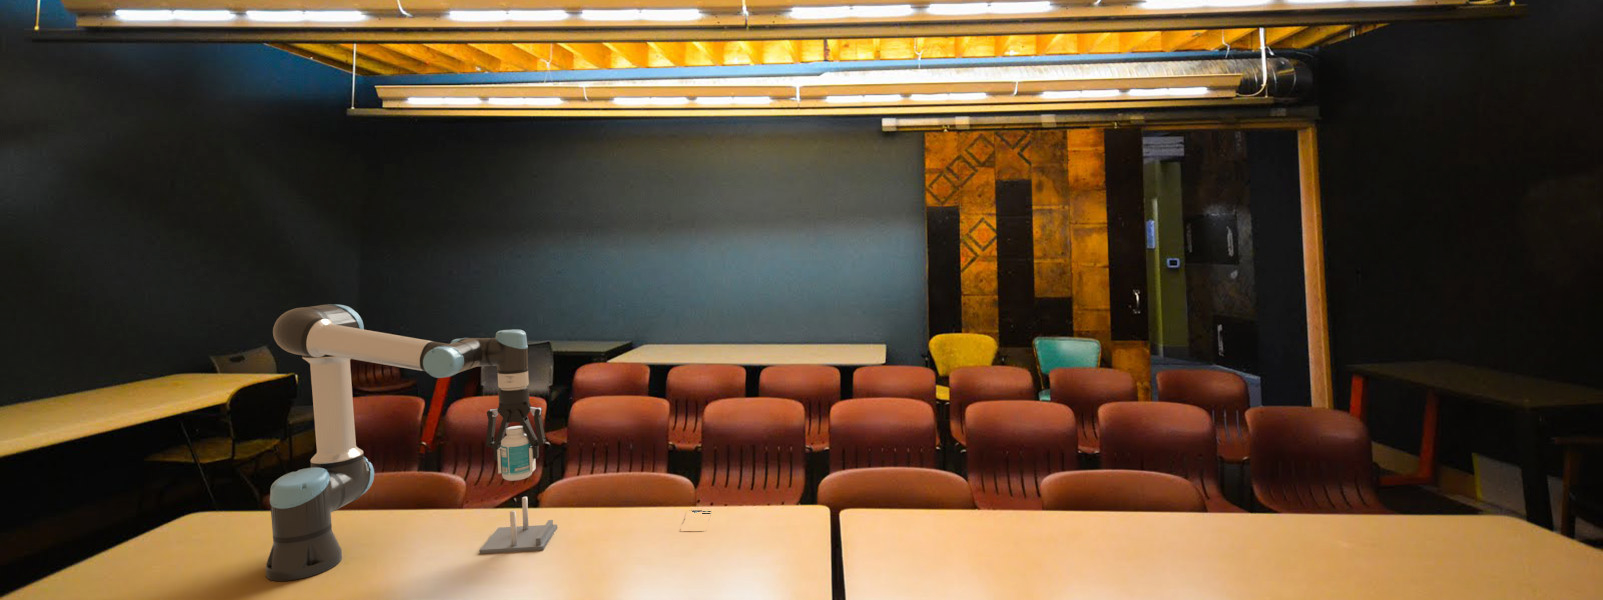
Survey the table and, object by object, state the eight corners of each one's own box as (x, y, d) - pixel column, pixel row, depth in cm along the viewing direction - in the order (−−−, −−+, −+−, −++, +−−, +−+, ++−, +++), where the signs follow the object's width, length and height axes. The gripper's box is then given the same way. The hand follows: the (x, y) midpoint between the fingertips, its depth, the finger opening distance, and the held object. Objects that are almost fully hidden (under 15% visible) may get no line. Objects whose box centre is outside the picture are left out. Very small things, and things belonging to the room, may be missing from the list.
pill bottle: (537, 472, 178) (535, 424, 178) (523, 482, 171) (521, 431, 170) (511, 472, 179) (509, 424, 178) (496, 481, 172) (494, 431, 171)
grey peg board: (479, 553, 169) (478, 516, 168) (498, 530, 182) (497, 496, 182) (543, 550, 170) (542, 513, 170) (557, 527, 184) (556, 493, 183)
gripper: (468, 391, 169) (472, 477, 170) (549, 389, 171) (552, 473, 172) (479, 386, 176) (483, 468, 178) (556, 383, 178) (559, 464, 180)
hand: (517, 470), depth 175 cm, fingers closed on pill bottle, 7 cm apart
